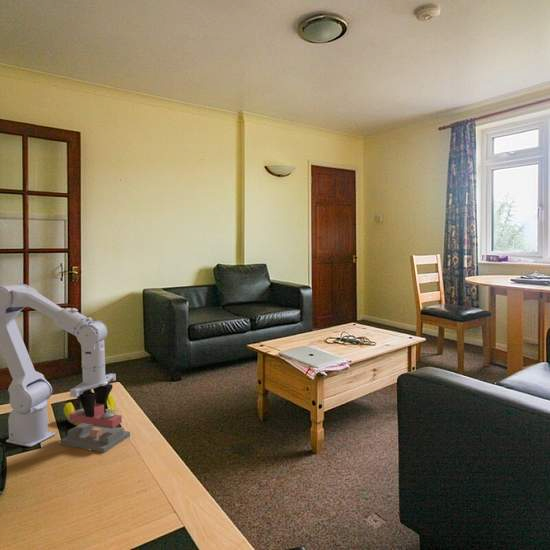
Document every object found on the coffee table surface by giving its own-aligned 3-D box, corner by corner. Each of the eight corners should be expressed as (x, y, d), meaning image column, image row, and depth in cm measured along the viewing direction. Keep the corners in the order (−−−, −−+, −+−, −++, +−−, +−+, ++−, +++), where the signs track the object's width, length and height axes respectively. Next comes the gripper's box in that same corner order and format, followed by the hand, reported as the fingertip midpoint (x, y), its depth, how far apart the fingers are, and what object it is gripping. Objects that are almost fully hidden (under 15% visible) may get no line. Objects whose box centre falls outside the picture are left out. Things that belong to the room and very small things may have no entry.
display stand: (60, 444, 105) (60, 433, 105) (88, 428, 114) (88, 418, 114) (104, 452, 100) (104, 441, 100) (130, 435, 110) (129, 425, 110)
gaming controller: (63, 419, 122) (66, 431, 113) (62, 402, 121) (65, 413, 113) (113, 408, 130) (119, 419, 122) (113, 392, 130) (119, 402, 121)
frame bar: (69, 420, 108) (68, 405, 108) (79, 416, 111) (78, 400, 111) (112, 427, 103) (112, 411, 103) (121, 422, 106) (121, 406, 106)
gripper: (84, 374, 98) (86, 426, 99) (123, 360, 112) (125, 405, 113) (63, 372, 100) (65, 422, 101) (104, 358, 114) (105, 402, 115)
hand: (95, 413), depth 107 cm, fingers closed on frame bar, 3 cm apart
